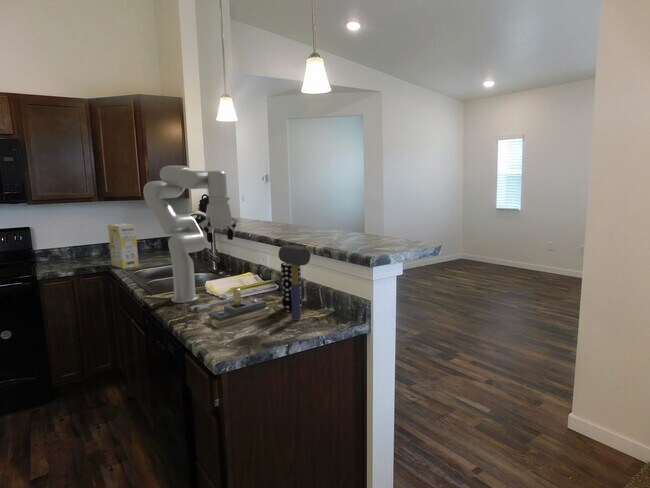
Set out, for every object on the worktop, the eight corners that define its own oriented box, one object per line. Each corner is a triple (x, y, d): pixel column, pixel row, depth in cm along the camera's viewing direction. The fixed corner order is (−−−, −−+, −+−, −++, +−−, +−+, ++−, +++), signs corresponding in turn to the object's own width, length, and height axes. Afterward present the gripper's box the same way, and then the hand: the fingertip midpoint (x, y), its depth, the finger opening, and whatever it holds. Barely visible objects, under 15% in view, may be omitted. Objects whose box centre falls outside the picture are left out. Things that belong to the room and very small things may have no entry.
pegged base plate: (209, 316, 170) (208, 308, 169) (254, 304, 185) (254, 296, 184) (220, 321, 164) (219, 312, 164) (265, 308, 179) (265, 300, 179)
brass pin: (232, 312, 174) (231, 289, 173) (239, 311, 177) (237, 287, 175) (237, 314, 172) (235, 290, 171) (243, 312, 174) (241, 288, 173)
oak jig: (205, 322, 170) (204, 317, 169) (256, 308, 187) (256, 303, 187) (218, 327, 163) (218, 322, 162) (270, 312, 180) (270, 308, 180)
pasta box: (138, 265, 288) (135, 224, 284) (122, 268, 281) (119, 226, 277) (127, 262, 301) (123, 223, 296) (111, 265, 293) (107, 224, 289)
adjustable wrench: (237, 299, 204) (237, 295, 204) (245, 301, 199) (245, 297, 199) (189, 310, 187) (188, 306, 187) (196, 313, 182) (196, 309, 182)
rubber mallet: (279, 318, 172) (276, 245, 168) (293, 314, 178) (290, 243, 173) (299, 325, 164) (297, 248, 159) (313, 320, 169) (311, 245, 164)
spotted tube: (296, 312, 179) (295, 266, 176) (279, 310, 182) (277, 265, 179) (304, 307, 187) (303, 262, 184) (287, 305, 190) (286, 261, 187)
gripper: (230, 199, 188) (233, 237, 190) (194, 201, 176) (197, 242, 178) (240, 199, 182) (242, 239, 185) (204, 201, 170) (206, 244, 173)
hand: (220, 240), depth 182 cm, fingers open, 9 cm apart
